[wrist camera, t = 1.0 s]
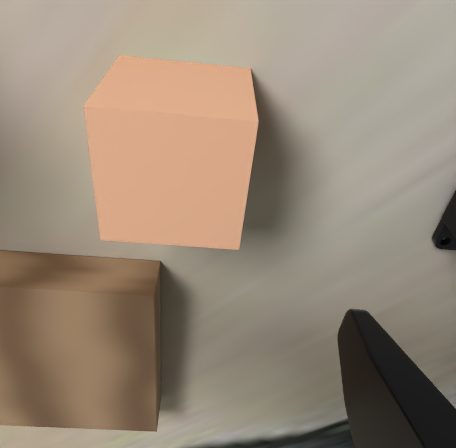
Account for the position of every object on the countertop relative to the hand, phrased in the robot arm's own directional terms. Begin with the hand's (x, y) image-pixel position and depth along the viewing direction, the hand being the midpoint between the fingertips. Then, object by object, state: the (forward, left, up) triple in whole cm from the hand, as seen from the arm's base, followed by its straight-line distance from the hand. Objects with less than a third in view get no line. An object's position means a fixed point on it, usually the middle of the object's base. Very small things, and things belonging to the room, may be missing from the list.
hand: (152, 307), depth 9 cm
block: (0, 0, -10) cm, 10 cm away
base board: (+8, +15, -10) cm, 20 cm away
